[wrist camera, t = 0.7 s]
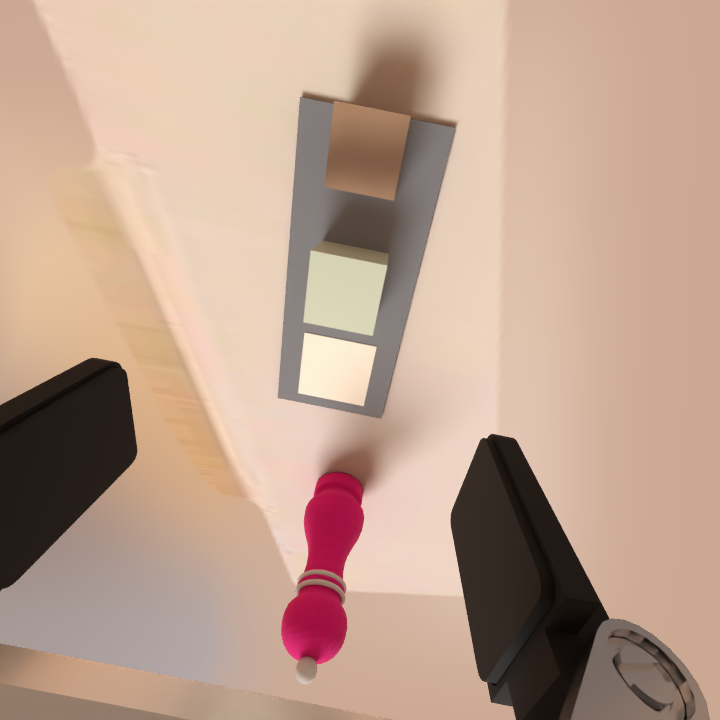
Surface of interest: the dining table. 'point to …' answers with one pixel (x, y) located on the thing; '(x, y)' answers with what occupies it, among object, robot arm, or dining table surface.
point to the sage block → (344, 287)
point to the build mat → (364, 230)
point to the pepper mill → (323, 574)
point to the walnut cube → (365, 150)
